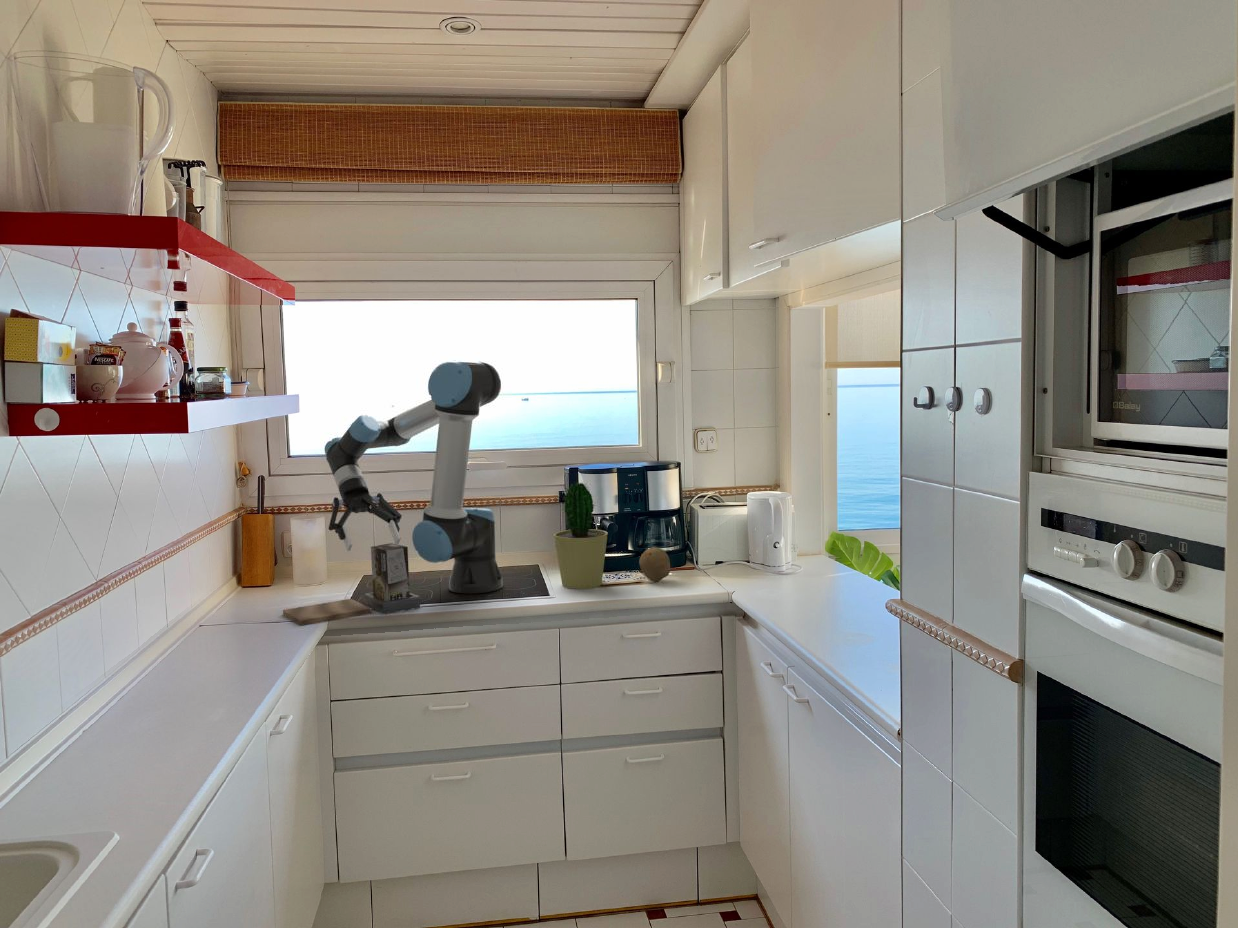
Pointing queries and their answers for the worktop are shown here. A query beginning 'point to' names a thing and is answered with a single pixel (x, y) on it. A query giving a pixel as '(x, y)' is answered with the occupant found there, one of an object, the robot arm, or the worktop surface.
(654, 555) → the coconut
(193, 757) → the worktop surface
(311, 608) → the board
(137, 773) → the worktop surface
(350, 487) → the robot arm
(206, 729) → the worktop surface
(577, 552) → the potted cactus
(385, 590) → the coffee box
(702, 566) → the worktop surface
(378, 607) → the holder
